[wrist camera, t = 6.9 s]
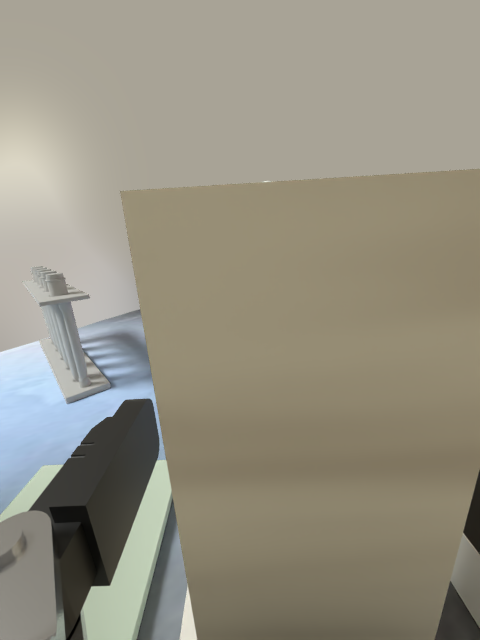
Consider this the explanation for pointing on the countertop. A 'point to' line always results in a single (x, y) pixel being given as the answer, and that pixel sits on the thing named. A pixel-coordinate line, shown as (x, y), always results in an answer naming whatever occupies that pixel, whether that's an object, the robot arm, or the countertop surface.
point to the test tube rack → (64, 336)
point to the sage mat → (135, 563)
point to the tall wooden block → (315, 395)
